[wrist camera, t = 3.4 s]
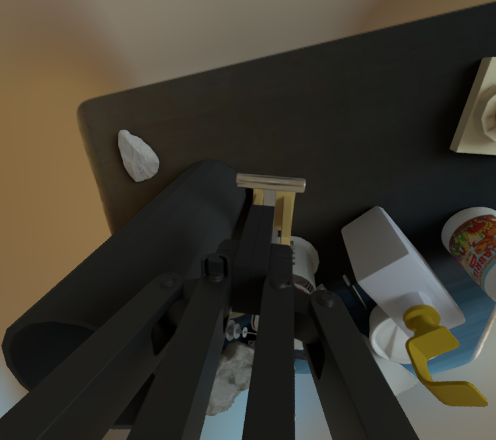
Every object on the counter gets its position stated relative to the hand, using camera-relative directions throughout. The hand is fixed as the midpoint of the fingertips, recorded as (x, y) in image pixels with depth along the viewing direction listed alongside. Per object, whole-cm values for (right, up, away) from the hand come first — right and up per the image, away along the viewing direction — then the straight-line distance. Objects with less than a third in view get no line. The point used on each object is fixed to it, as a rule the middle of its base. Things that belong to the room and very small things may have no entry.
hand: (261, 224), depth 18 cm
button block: (+28, +13, +15) cm, 34 cm away
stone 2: (-5, -25, +36) cm, 44 cm away
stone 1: (-17, +10, +24) cm, 31 cm away
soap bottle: (+19, -3, +25) cm, 31 cm away
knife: (+20, -12, +29) cm, 37 cm away
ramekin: (+25, -16, +30) cm, 42 cm away
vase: (-6, +4, +25) cm, 26 cm away
